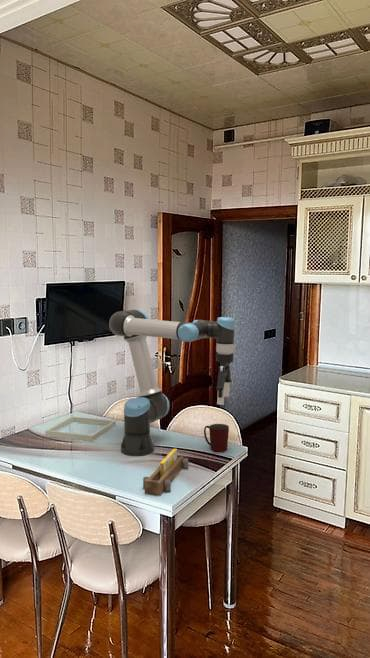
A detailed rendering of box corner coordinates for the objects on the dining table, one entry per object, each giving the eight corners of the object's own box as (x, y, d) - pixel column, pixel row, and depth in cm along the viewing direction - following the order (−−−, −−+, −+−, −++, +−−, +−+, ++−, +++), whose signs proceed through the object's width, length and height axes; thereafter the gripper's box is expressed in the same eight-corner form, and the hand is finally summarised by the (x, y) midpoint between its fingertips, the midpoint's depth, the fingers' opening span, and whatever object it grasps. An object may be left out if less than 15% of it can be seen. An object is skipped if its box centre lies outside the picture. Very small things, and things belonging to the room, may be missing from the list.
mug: (199, 450, 228) (199, 426, 227) (208, 444, 236) (208, 421, 234) (223, 454, 222) (223, 430, 221) (231, 448, 230) (231, 425, 228)
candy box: (173, 467, 208) (173, 448, 207) (178, 467, 207) (178, 448, 206) (159, 482, 193) (159, 462, 192) (164, 483, 192) (164, 462, 191)
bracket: (138, 492, 183) (138, 479, 183) (164, 464, 210) (164, 453, 210) (166, 496, 180) (166, 483, 180) (188, 467, 207) (188, 456, 207)
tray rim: (45, 436, 246) (45, 430, 246) (72, 421, 271) (72, 416, 270) (92, 441, 239) (92, 435, 238) (115, 426, 263) (115, 420, 263)
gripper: (228, 358, 203) (226, 408, 205) (237, 349, 227) (236, 394, 229) (210, 357, 205) (208, 407, 207) (221, 347, 229) (220, 392, 231)
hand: (223, 400), depth 218 cm, fingers open, 13 cm apart
